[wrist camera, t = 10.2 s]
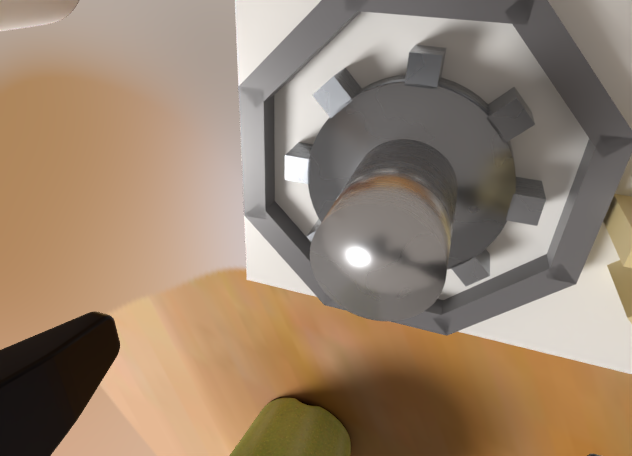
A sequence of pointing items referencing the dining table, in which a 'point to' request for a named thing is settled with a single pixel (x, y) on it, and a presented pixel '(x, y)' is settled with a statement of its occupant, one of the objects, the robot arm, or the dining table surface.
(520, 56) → the plate
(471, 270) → the planet gear
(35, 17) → the can
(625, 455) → the dining table surface
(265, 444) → the plant pot
